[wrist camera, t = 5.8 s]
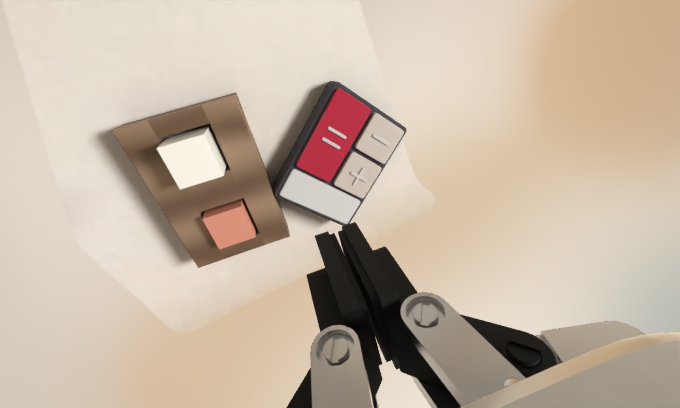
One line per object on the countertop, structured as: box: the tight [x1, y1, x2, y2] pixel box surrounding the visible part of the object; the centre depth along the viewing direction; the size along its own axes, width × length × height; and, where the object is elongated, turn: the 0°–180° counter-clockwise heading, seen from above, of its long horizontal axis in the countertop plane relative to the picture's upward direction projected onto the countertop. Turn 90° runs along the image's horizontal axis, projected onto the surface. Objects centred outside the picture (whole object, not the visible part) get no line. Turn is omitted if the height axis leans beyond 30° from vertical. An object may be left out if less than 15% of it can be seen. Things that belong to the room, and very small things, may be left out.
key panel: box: [112, 93, 290, 268], centre depth 35 cm, size 18×12×3 cm, turn 15°
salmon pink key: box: [202, 198, 256, 250], centre depth 36 cm, size 4×4×4 cm
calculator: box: [273, 81, 406, 226], centre depth 37 cm, size 11×4×15 cm
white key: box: [156, 126, 227, 190], centre depth 31 cm, size 4×4×4 cm
